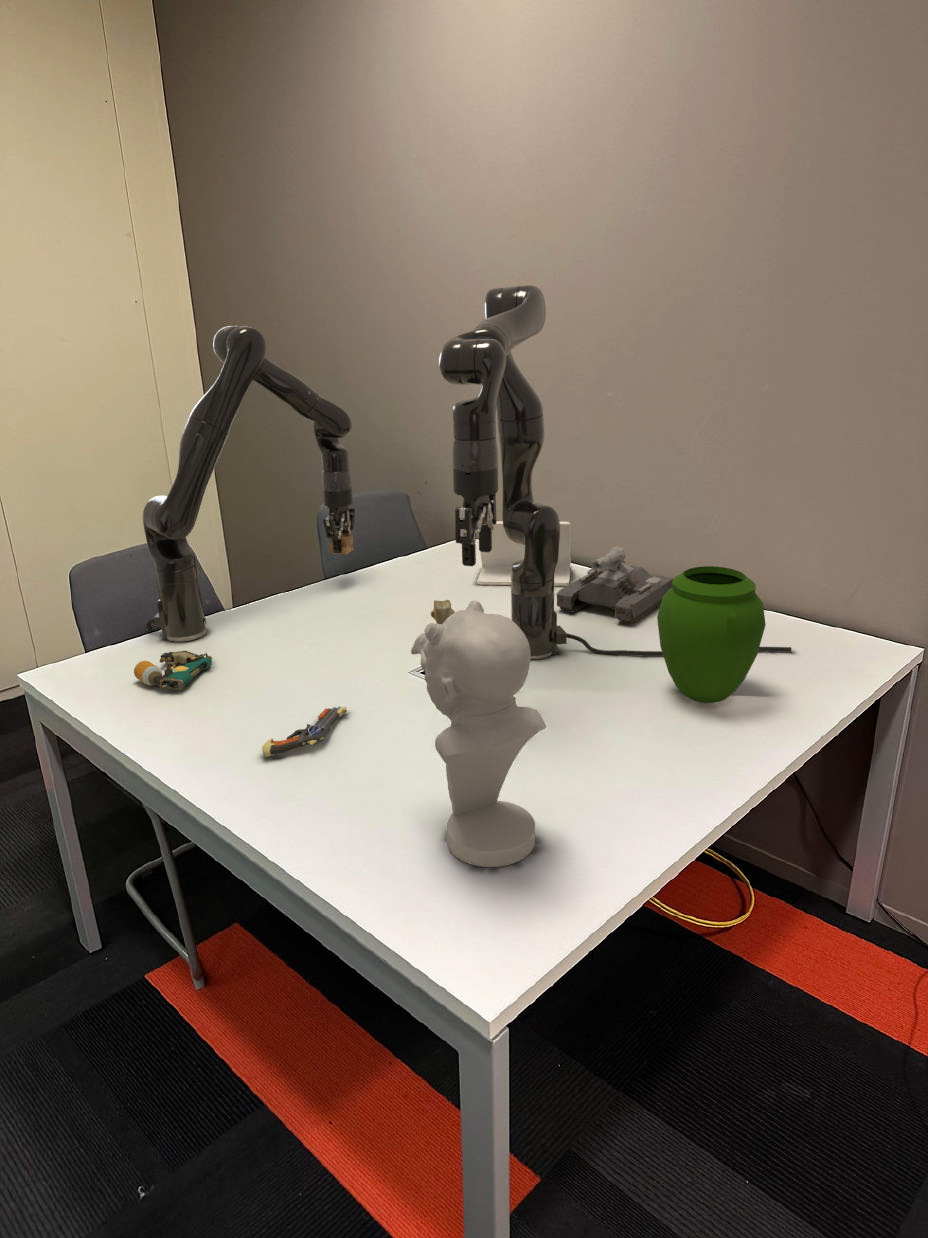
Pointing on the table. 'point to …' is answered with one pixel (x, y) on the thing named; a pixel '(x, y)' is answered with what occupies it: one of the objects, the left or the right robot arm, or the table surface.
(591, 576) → the toy
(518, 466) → the right robot arm
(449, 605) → the sculpture
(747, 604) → the vase
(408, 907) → the table surface
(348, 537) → the block
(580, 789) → the table surface
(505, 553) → the tablet stand
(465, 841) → the bust sculpture
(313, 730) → the toy gun
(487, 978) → the table surface
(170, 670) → the spray gun
